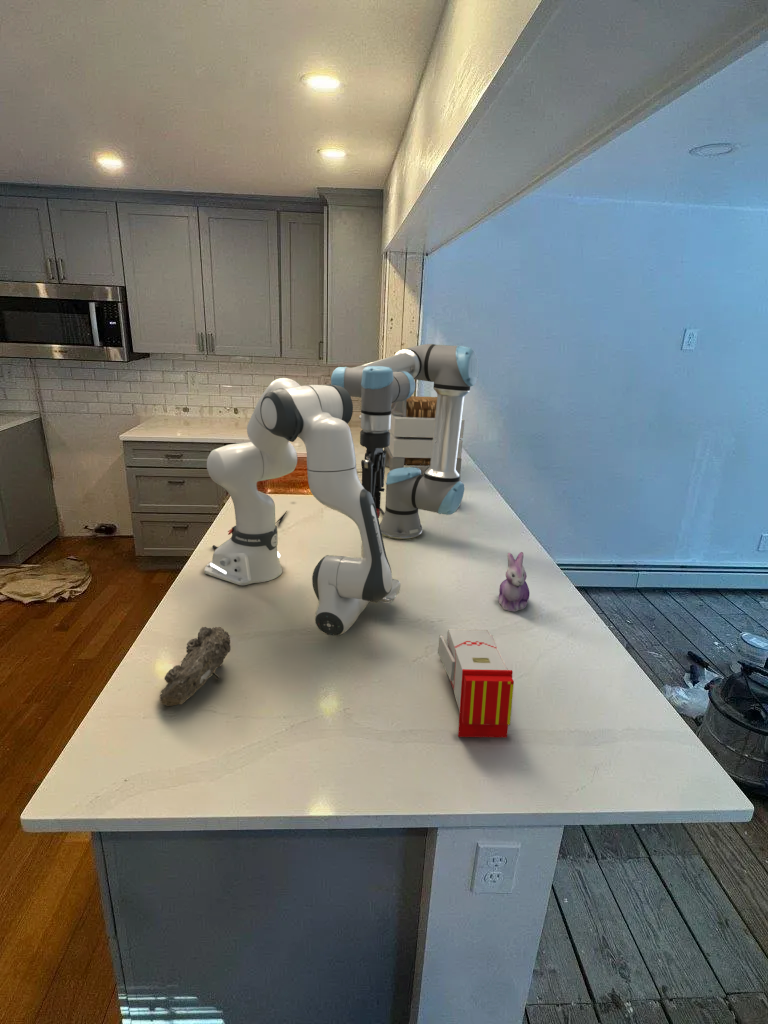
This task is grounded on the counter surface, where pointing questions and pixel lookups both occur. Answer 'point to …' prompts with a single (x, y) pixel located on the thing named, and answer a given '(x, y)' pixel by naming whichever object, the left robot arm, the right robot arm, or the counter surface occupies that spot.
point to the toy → (478, 682)
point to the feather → (281, 518)
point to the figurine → (514, 585)
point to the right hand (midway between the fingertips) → (372, 517)
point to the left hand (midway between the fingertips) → (370, 572)
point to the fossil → (196, 665)
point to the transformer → (414, 433)
